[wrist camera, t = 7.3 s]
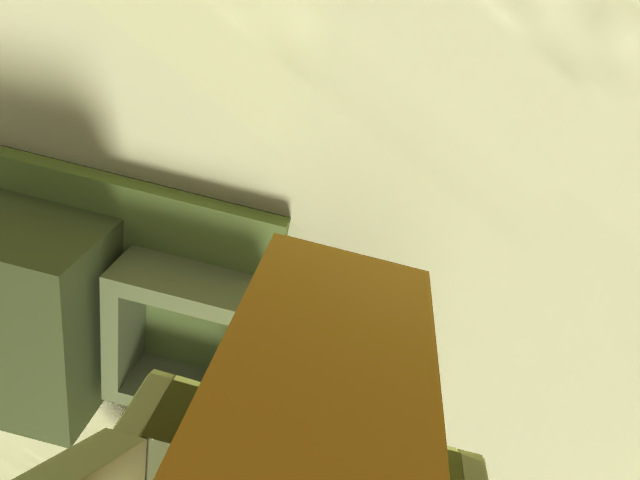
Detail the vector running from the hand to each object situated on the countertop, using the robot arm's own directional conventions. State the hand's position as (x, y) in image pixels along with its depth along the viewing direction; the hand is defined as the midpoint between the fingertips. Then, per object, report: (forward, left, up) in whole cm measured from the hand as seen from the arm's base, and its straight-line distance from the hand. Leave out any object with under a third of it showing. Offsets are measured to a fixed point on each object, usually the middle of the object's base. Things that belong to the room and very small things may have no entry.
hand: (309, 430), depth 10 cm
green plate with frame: (+12, +12, -17) cm, 24 cm away
